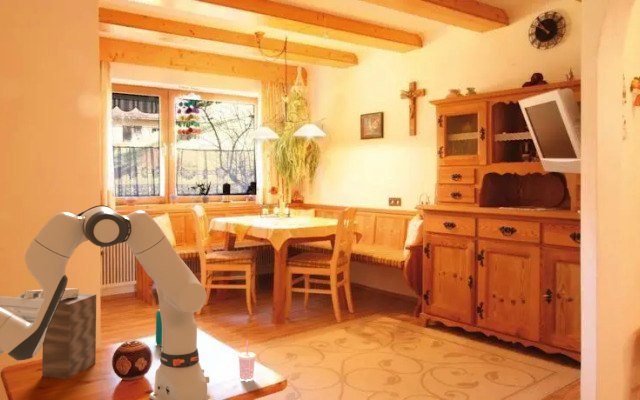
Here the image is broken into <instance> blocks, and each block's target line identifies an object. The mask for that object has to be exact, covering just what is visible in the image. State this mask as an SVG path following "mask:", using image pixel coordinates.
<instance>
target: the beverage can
mask: <svg viewBox="0 0 640 400" xmlns="http://www.w3.org/2000/svg"><path fill="white" fill-rule="evenodd" d="M155 343H156V345H157V346H158V347H162V321H161V315H160V308H157V309H156V314H155Z"/></svg>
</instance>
